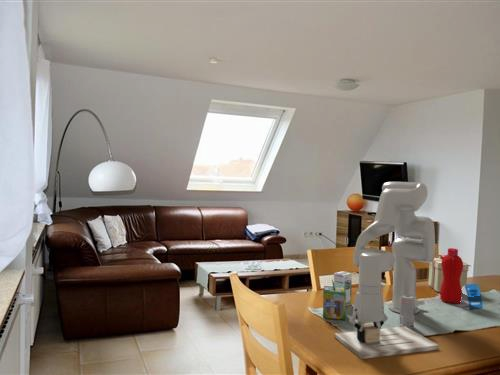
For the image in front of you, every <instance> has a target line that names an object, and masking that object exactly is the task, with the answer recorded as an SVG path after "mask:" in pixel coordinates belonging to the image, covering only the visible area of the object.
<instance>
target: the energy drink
mask: <svg viewBox="0 0 500 375" xmlns="http://www.w3.org/2000/svg"><path fill="white" fill-rule="evenodd" d="M414 312H415V298H414V296H411V295H401V298H400V313H399V322H398V323H399V324H398V325H399V327H400V326H401V327H404V326H405V327H407V328H409V329H411V330H413V329H414V327H415V314H414Z"/></svg>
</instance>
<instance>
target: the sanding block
mask: <svg viewBox="0 0 500 375" xmlns="http://www.w3.org/2000/svg"><path fill="white" fill-rule="evenodd" d="M360 325H361V324H360ZM363 331H364V343H365V344H366V345H368V346H369V345H378V344H379V343H380V330H379V329H378V328H376V327H374V325H373V324H371V322H370V323H365V325H364V328H363Z"/></svg>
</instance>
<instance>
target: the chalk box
mask: <svg viewBox="0 0 500 375" xmlns="http://www.w3.org/2000/svg"><path fill="white" fill-rule="evenodd" d="M331 282H332V285H324V287H323V294H322V296H323V298H322V299H323V304H322V305H323V306H322V307H323V308H322V309H323V310H322V318H323V319H324V318H333V319H332V320H340V319H344V321H346V320H345V319H347V318H346V315H347V313H346V310H347V308H346V307H347V306H346V290H345V287H337V286H334V279H332V280H331Z"/></svg>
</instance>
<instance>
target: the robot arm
mask: <svg viewBox="0 0 500 375" xmlns="http://www.w3.org/2000/svg"><path fill="white" fill-rule="evenodd" d="M381 190H382V191H381V194H380V196H379V200H378V204H377V208H376V213H375V216H374V221H373V222H372V223H371V224H370V225H368V226H367V227H366V228H365V229H363V231H362V232H361V233H360V234H359V235H358V237H357V240H356V242H355V247H354V251H353V255H352V261H353V264H354V265H355V267H357V268H358V290H357V291H356V292H355V294H354V295H355V296H354V299H353V306H352V315H351V317H350V318H349V320H348V322H349V323H350V324H351V325H352V326H354V327H355V329H356V331H357V339H358V340H359V341H360V342H361V343H364V331H363V328H364V325H365V323H370V324H371V323H372V325H373V326H374V327H376V328H378V329H379V330H380V329H382V327H383V325H384V323H386V322H387V321H388V319H389V317H388V316H387V315H386V313H385V301H384V295H383V292H382V289H384V284H382V273H386V272H389V271H393V274H392V275H393V276H392V277H393V278H392V298H391V299H392V300H391V303H389V304H388V310H390V311H392V312H394V313H398V314H400V298H401V295H411V296H414V298H415V312H414V315H415V314H417V313H419V311H420V308H419V307H418V306H425V303H426V302H425V300H418V299H416V295H417V292H416V291H417V269H416V267H415V264H414V263H413V262H419V263H427V264H429V263H430V262H432V261H433V260H434V258H436V234H435V233H436V232H435V224H434V221H433V220H432V218H430V217H429V216H419V215H416V214H415V212H417V211H418V210H419V209H420V208H421V207H422V206H423V204H424V203H425V202H426V201H427V198H428V187H427V185H426V184H425V183H423V182H417V181H414V182H413V181H387V182H384V183H383V184H382V186H381ZM393 232H395V235H396V236H398V237H399V238H396V239H394V240H393V241H392V244H391V249H392V250H391V251H388V250H383V249H377V248H368V247H367V245H368V244H369V243H370V242H371V241H372V240H374V239H376V238H379V237H380V236H384V235H387V234H390V233H393ZM392 269H393V270H392ZM356 320H357V322H356ZM360 324H361V325H360Z"/></svg>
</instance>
